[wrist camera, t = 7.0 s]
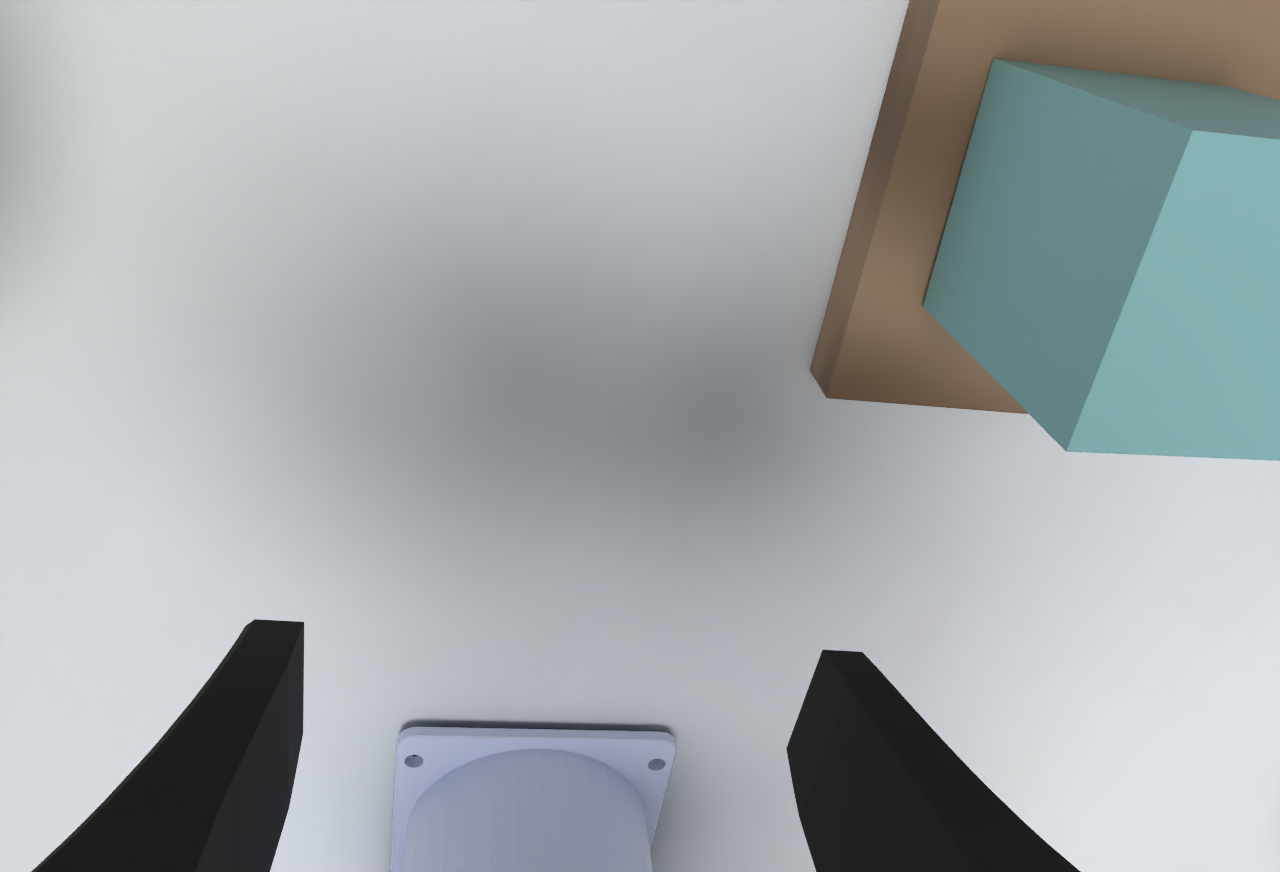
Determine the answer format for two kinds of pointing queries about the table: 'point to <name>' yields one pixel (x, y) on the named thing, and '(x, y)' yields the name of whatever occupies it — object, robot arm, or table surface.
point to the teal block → (1121, 259)
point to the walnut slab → (935, 152)
